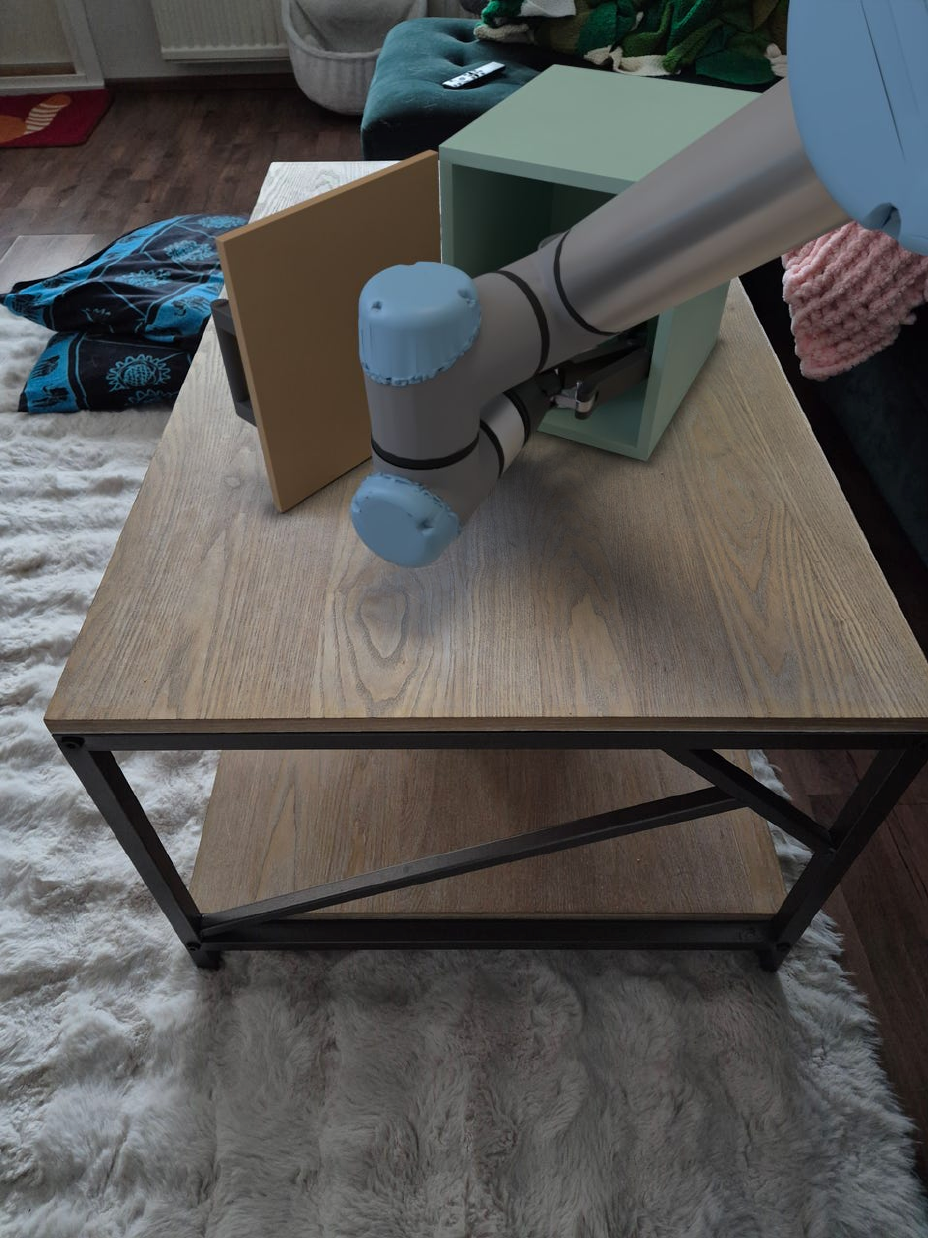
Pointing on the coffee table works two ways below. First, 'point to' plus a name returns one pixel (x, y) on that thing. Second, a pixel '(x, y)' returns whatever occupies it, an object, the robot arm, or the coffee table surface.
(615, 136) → the box
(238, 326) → the fridge door
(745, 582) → the coffee table surface
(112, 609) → the coffee table surface
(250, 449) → the coffee table surface
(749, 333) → the coffee table surface
